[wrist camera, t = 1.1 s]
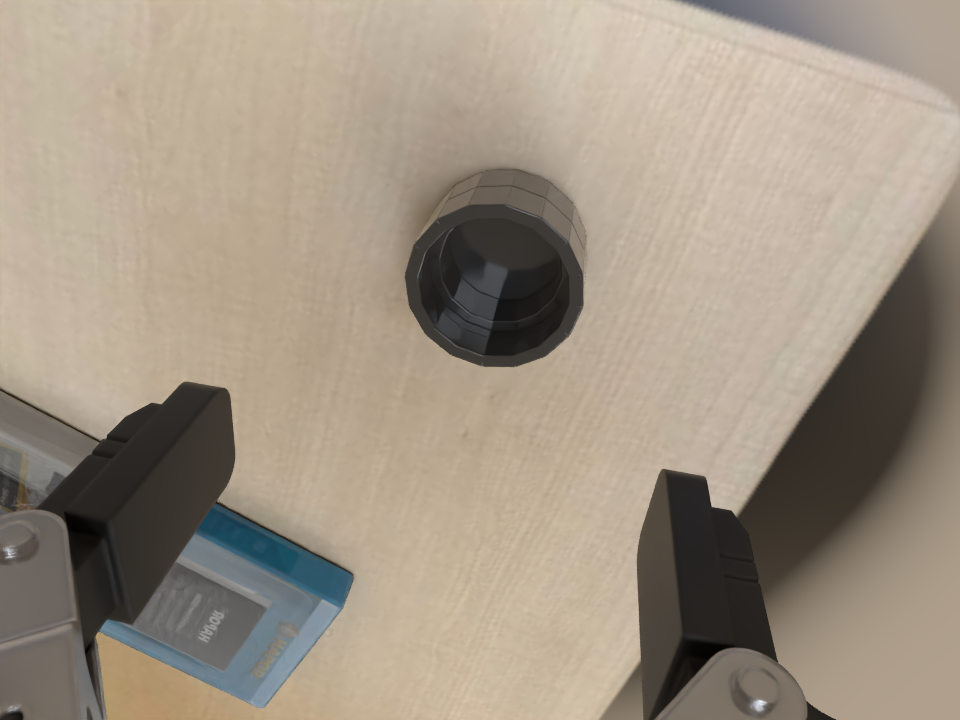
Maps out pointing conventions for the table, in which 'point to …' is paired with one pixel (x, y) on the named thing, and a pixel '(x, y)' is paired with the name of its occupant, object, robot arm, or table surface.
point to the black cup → (499, 269)
